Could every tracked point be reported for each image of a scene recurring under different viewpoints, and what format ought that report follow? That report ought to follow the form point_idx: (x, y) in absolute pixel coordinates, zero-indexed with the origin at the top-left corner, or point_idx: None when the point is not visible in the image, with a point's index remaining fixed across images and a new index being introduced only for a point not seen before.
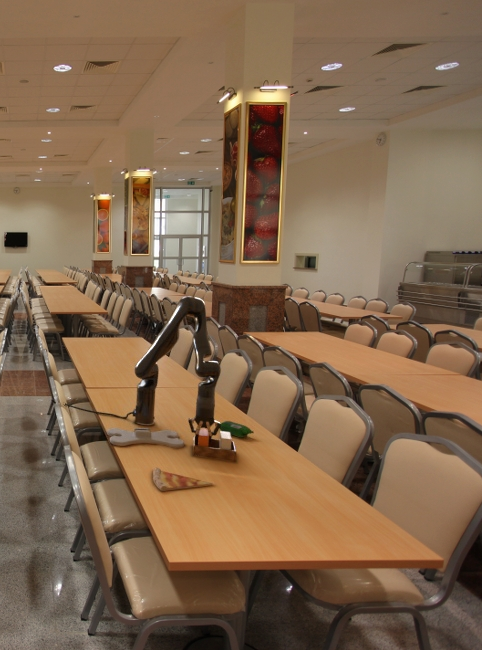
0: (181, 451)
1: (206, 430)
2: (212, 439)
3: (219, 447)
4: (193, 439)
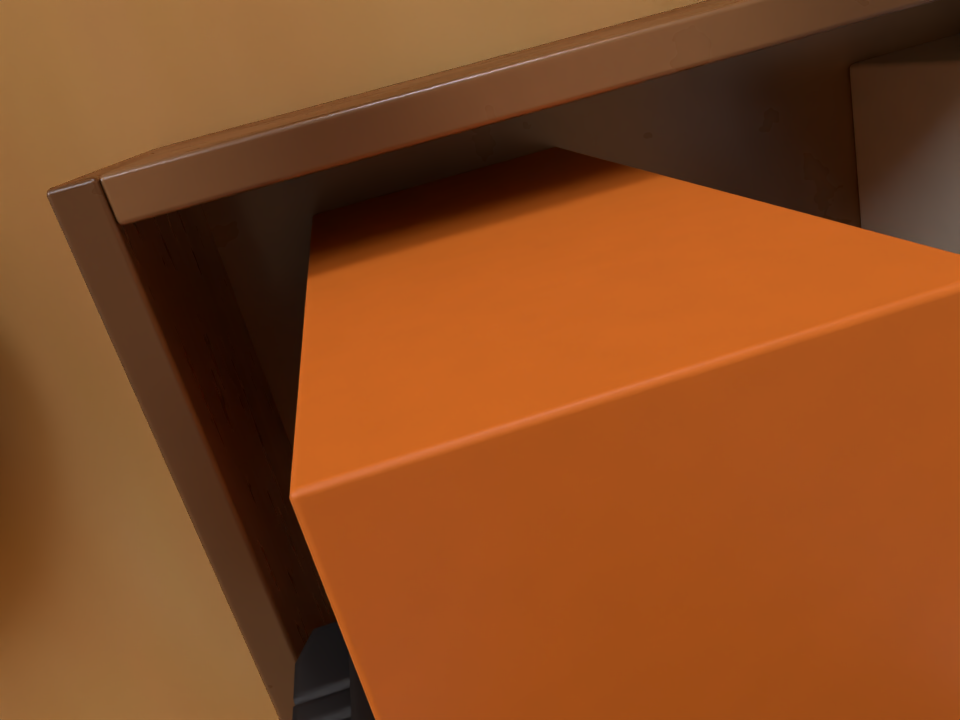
0: (64, 666)
1: (905, 579)
2: (832, 25)
3: (949, 233)
4: (216, 574)
